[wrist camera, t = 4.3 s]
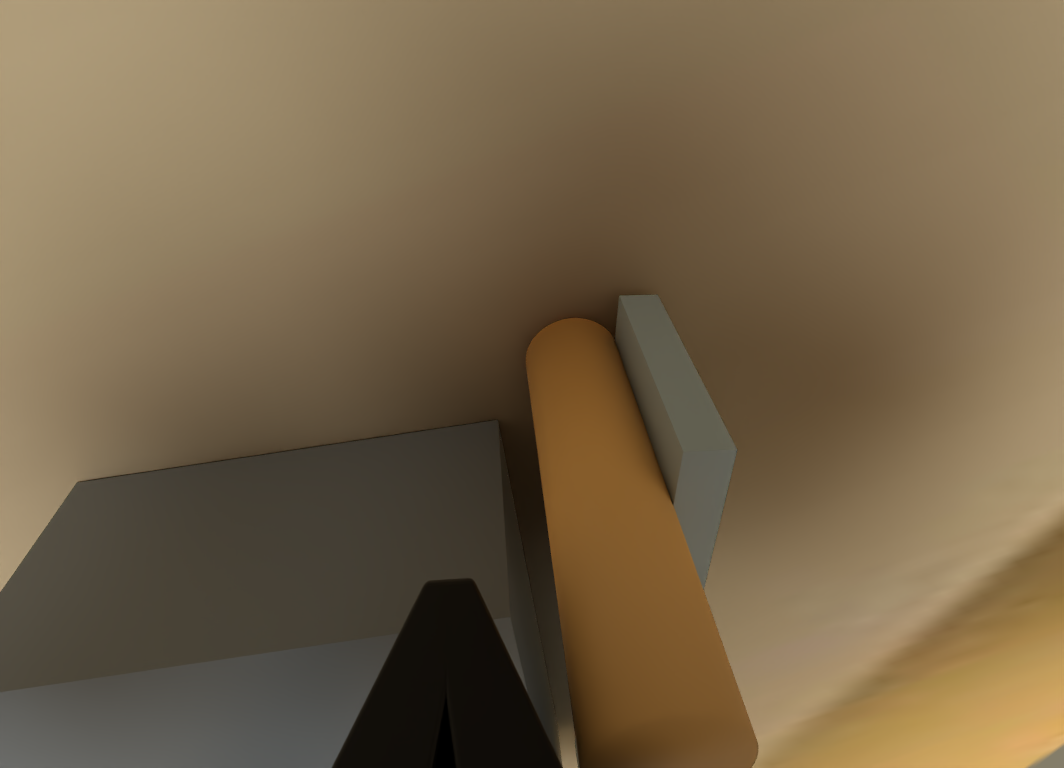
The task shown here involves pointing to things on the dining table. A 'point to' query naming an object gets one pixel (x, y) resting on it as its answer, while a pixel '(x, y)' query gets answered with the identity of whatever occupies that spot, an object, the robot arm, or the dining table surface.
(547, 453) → the grey and orange bar
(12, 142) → the dining table surface
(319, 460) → the block
